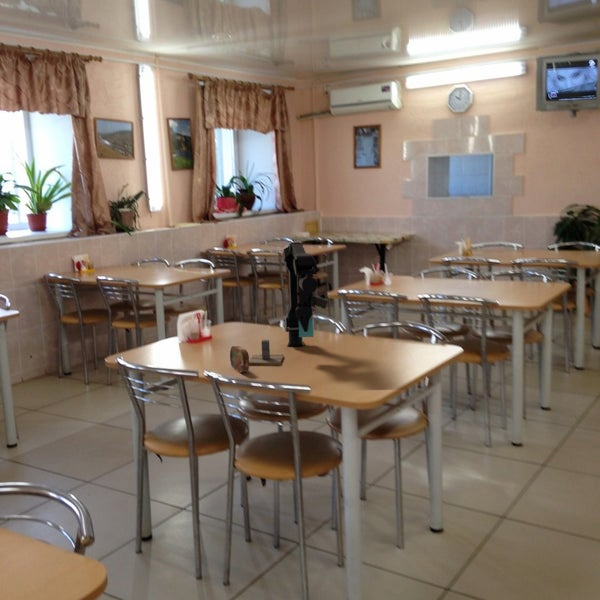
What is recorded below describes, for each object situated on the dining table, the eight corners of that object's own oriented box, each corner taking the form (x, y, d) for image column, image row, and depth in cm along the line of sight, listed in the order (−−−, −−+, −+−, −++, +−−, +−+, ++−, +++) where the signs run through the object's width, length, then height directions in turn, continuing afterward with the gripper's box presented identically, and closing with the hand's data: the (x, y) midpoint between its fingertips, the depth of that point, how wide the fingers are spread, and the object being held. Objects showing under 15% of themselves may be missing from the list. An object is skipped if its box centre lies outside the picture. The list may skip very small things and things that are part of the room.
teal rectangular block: (300, 334, 265) (299, 317, 264) (314, 333, 264) (313, 316, 263) (299, 337, 260) (298, 319, 258) (313, 336, 259) (312, 319, 258)
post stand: (252, 357, 272) (252, 337, 271) (283, 357, 271) (282, 336, 270) (248, 365, 260) (247, 344, 259) (280, 365, 259) (279, 344, 258)
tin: (229, 366, 261) (228, 344, 260) (237, 364, 262) (236, 343, 261) (242, 375, 247) (241, 352, 246) (251, 374, 249) (250, 351, 247)
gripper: (325, 292, 249) (326, 335, 252) (327, 284, 267) (329, 324, 270) (294, 293, 250) (296, 335, 253) (298, 285, 268) (300, 325, 271)
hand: (306, 330), depth 262 cm, fingers closed on teal rectangular block, 5 cm apart
